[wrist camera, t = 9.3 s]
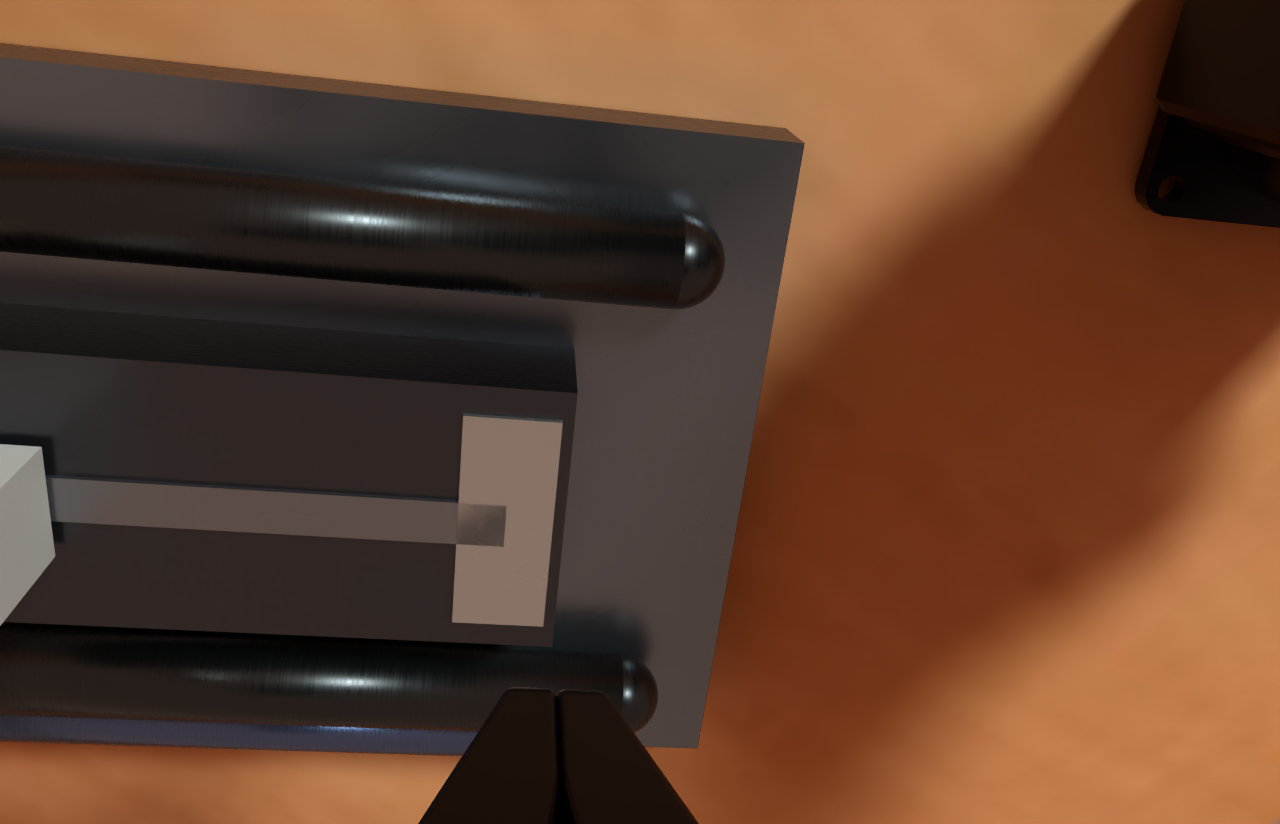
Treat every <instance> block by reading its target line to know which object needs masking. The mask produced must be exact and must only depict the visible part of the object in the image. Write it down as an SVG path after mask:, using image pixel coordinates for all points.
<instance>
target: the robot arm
mask: <svg viewBox="0 0 1280 824" xmlns="http://www.w3.org/2000/svg"><path fill="white" fill-rule="evenodd" d="M1156 97H1157V100H1158V102H1159V107H1158V111H1157V114H1156V117H1155V120H1154V124H1153V127H1152V130H1151V134H1150V137H1149V140H1148V143H1147V147H1146V150H1145V153H1144V156H1143V160H1142V163H1141V166H1140V169H1139V173H1138V176H1137V179H1136V183H1135V196H1136V199H1137V202H1138V203H1139V204H1140V205H1141V206H1142V207H1143V208H1145V209H1147V210H1150V211H1152V212H1154V213H1157V214H1160V215H1163V216H1171V217H1181V218H1191V219H1200V220H1210V221H1220V222H1230V223H1239V224H1249V225H1259V226H1268V227H1278V228H1280V0H1185V2H1184V5H1183V8H1182V12H1181V15H1180V18H1179V22H1178V25H1177V28H1176V31H1175V35H1174V38H1173V41H1172V45H1171V48H1170V51H1169V54H1168V58H1167V61H1166V64H1165V68H1164V71H1163V74H1162V77H1161V81H1160V84H1159V87H1158V91H1157V95H1156ZM1169 176H1172V177H1173V178H1174V182H1173V187H1172V189H1171V190H1170V192H1169V193H1168V194H1167V195H1165V196H1164V197H1159V195H1158V194H1159V187H1160V185H1161V183H1162V181H1163V180H1165V179H1166V178H1168V177H1169ZM418 824H699V823H698V822H697V821H696V819H695V818H694V816H693V815H692V813H691V812H690V811H689V809H688V808H687V806H686V805H685V804H684V802H683V801H682V799H681V798H680V797H679V795H678V794H677V792H676V791H675V790H674V788H673V787H672V785H671V784H670V782H669V781H668V780H667V778H666V777H665V775H664V774H663V773H662V771H661V770H660V768H659V767H658V766H657V764H656V763H655V761H654V760H653V759H652V757H651V756H650V754H649V753H648V751H647V750H646V749H645V747H644V746H643V744H642V743H641V742H640V740H639V739H638V737H637V736H636V735H635V733H634V732H633V730H632V729H631V728H630V726H629V725H628V723H627V722H626V720H625V719H624V718H623V716H622V715H621V713H620V712H619V711H618V709H617V708H616V706H615V705H614V704H613V702H612V701H611V699H610V698H609V697H608V695H607V694H605V693H604V692H602V691H598V690H576V689H562V690H561V691H559V692H558V694H557V695H556V696H555V694H554V692H553V691H552V690H551V689H548V688H528V687H511V688H509V689H507V690H506V691H505V692H504V693H503V695H502V696H501V698H500V699H499V701H498V702H497V704H496V705H495V707H494V708H493V710H492V711H491V713H490V714H489V716H488V717H487V719H486V721H485V722H484V724H483V725H482V727H481V728H480V730H479V731H478V733H477V734H476V736H475V737H474V739H473V740H472V742H471V744H470V745H469V747H468V748H467V750H466V751H465V753H464V754H463V756H462V757H461V759H460V760H459V762H458V763H457V765H456V767H455V768H454V770H453V771H452V773H451V774H450V776H449V777H448V779H447V780H446V782H445V783H444V785H443V786H442V788H441V790H440V791H439V793H438V794H437V796H436V797H435V799H434V800H433V802H432V803H431V805H430V806H429V808H428V809H427V811H426V813H425V814H424V816H423V817H422V819H421V820H420V822H419V823H418Z"/></svg>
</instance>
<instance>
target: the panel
mask: <svg viewBox="0 0 1280 824" xmlns="http://www.w3.org/2000/svg"><path fill="white" fill-rule="evenodd" d="M804 144H805V143H804V142H802V141H801V140H800V139H799V138H797V137H796V136H795V135H794V134H792V133H791V132H790V131H789V130H787V129H786V128H777V127H768V126H759V125H750V124H740V123H731V122H722V121H713V120H704V119H694V118H685V117H676V116H667V115H658V114H648V113H639V112H630V111H621V110H612V109H602V108H593V107H584V106H575V105H566V104H556V103H547V102H538V101H529V100H520V99H510V98H501V97H492V96H483V95H474V94H464V93H455V92H446V91H437V90H428V89H418V88H409V87H400V86H391V85H382V84H372V83H363V82H354V81H345V80H336V79H326V78H317V77H308V76H299V75H290V74H281V73H271V72H262V71H253V70H244V69H235V68H225V67H216V66H207V65H198V64H189V63H179V62H170V61H161V60H152V59H143V58H133V57H124V56H115V55H106V54H97V53H87V52H78V51H69V50H60V49H51V48H41V47H32V46H23V45H14V44H5V43H0V444H6V445H21V446H36V447H42V454H43V462H44V470H45V478H46V486H47V494H48V502H49V510H50V518H51V526H52V534H53V542H54V550H55V557H54V559H53V560H52V561H51V562H50V564H49V565H48V566H47V567H46V569H45V570H44V571H43V573H42V574H41V575H40V576H39V578H38V579H37V580H36V581H35V583H34V584H33V585H32V586H31V588H30V589H29V590H28V592H27V593H26V594H25V595H24V597H23V598H22V599H21V600H20V602H19V603H18V604H17V605H16V607H15V608H14V609H13V611H12V612H11V613H10V614H9V616H8V617H7V618H6V619H5V621H4V622H3V623H2V624H1V626H0V741H4V742H35V743H66V744H97V745H128V746H159V747H190V748H221V749H252V750H283V751H315V752H346V753H377V754H408V755H439V756H463V754H464V753H465V751H466V750H467V748H468V747H469V745H470V744H471V742H472V740H473V739H474V737H475V736H476V734H477V733H478V731H479V730H480V728H481V727H482V725H483V724H484V722H485V721H486V719H487V717H488V716H489V714H490V713H491V711H492V710H493V708H494V707H495V705H496V704H497V702H498V701H499V699H500V698H501V696H502V695H503V693H504V692H505V691H506V690H507V689H509V688H511V687H528V688H548V689H551V690H552V691H553V692H554V694H555V696H556V695H557V694H558V692H559V691H561V690H562V689H576V690H598V691H602V692H604V693H605V694H607V695H608V697H609V698H610V699H611V701H612V702H613V704H614V705H615V706H616V708H617V709H618V711H619V712H620V713H621V715H622V716H623V718H624V719H625V720H626V722H627V723H628V725H629V726H630V728H631V729H632V730H633V732H634V733H635V735H636V736H637V737H638V739H639V740H640V742H641V743H642V744H643V746H644V747H673V748H698V742H699V736H700V731H701V725H702V719H703V714H704V708H705V703H706V697H707V691H708V686H709V680H710V674H711V669H712V663H713V657H714V652H715V646H716V640H717V635H718V629H719V624H720V618H721V612H722V607H723V601H724V595H725V590H726V584H727V578H728V573H729V567H730V561H731V556H732V550H733V544H734V539H735V533H736V528H737V522H738V516H739V511H740V505H741V499H742V494H743V488H744V482H745V477H746V471H747V465H748V460H749V454H750V449H751V443H752V437H753V432H754V426H755V420H756V415H757V409H758V403H759V398H760V392H761V386H762V381H763V375H764V370H765V364H766V358H767V353H768V347H769V341H770V336H771V330H772V324H773V319H774V313H775V307H776V302H777V296H778V291H779V285H780V279H781V274H782V268H783V262H784V257H785V251H786V245H787V240H788V234H789V228H790V223H791V217H792V212H793V206H794V200H795V195H796V189H797V183H798V178H799V172H800V166H801V161H802V155H803V149H804Z"/></svg>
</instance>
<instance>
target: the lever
mask: <svg viewBox="0 0 1280 824" xmlns="http://www.w3.org/2000/svg"><path fill="white" fill-rule="evenodd" d="M54 557H55V550H54V542H53V534H52V526H51V518H50V510H49V502H48V494H47V486H46V478H45V470H44V462H43V454H42V447H36V446H21V445H6V444H0V626H1V624H2V623H3V622H4V621H5V619H6V618H7V617H8V616H9V614H10V613H11V612H12V611H13V609H14V608H15V607H16V605H17V604H18V603H19V602H20V600H21V599H22V598H23V597H24V595H25V594H26V593H27V592H28V590H29V589H30V588H31V586H32V585H33V584H34V583H35V581H36V580H37V579H38V578H39V576H40V575H41V574H42V573H43V571H44V570H45V569H46V567H47V566H48V565H49V564H50V562H51V561H52V560H53V559H54Z"/></svg>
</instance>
